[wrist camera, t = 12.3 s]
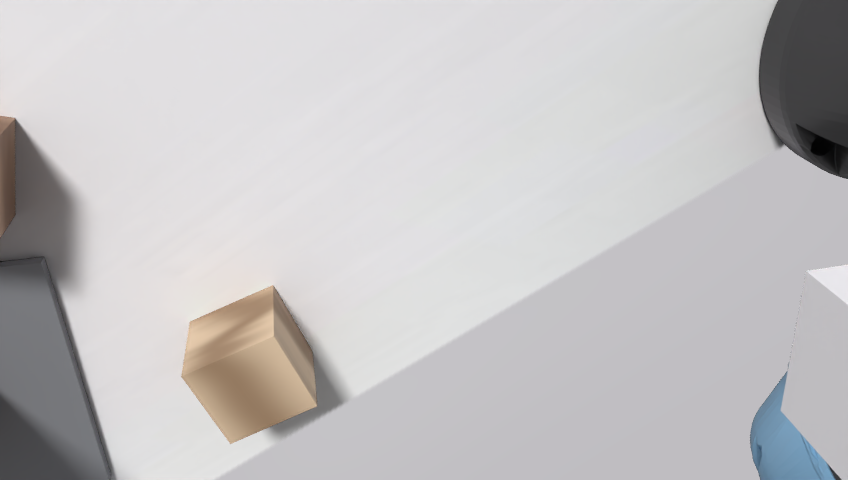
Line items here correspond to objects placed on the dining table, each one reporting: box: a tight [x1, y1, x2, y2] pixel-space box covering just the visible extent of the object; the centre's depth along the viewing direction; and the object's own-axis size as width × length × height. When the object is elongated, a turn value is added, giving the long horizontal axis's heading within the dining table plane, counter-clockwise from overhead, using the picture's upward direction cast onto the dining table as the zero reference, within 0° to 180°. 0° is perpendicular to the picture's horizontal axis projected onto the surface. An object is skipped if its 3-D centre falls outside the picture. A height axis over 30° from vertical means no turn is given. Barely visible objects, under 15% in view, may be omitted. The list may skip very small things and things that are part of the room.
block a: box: [181, 285, 317, 444], centre depth 41 cm, size 5×5×5 cm
